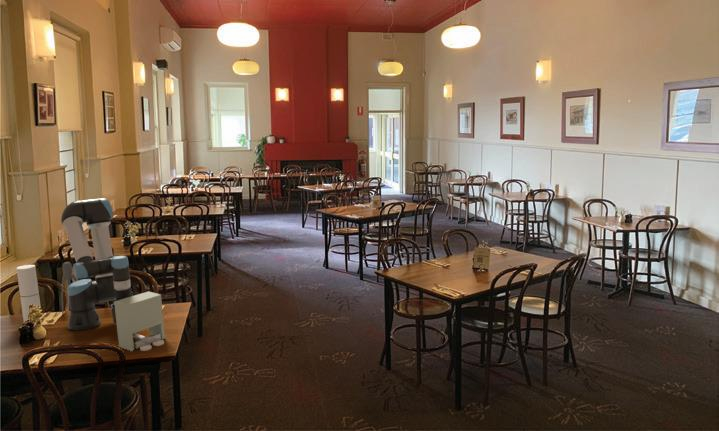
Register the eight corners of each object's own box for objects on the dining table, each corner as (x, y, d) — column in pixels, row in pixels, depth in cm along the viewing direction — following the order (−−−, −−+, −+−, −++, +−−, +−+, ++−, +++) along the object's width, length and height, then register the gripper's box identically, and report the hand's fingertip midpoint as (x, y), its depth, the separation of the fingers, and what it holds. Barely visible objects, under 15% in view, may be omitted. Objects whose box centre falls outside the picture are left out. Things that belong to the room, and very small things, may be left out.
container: (21, 321, 310) (14, 267, 305) (39, 317, 316) (32, 263, 311) (26, 325, 304) (19, 270, 299) (44, 321, 310) (37, 266, 305)
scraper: (112, 340, 280) (110, 318, 278) (136, 331, 290) (134, 310, 288) (136, 348, 268) (134, 326, 266) (160, 339, 278) (158, 317, 276)
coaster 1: (138, 349, 269) (138, 346, 269) (149, 345, 272) (148, 343, 272) (142, 352, 265) (142, 349, 265) (153, 348, 269) (153, 346, 269)
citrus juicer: (71, 319, 312) (65, 264, 306) (55, 318, 313) (48, 264, 308) (85, 312, 323) (79, 259, 317) (69, 311, 324) (62, 259, 319)
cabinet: (119, 346, 272) (114, 301, 268) (152, 334, 286) (148, 291, 282) (131, 351, 266) (126, 305, 262) (165, 338, 280) (160, 294, 277)
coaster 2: (150, 344, 274) (150, 342, 273) (159, 341, 278) (159, 338, 277) (157, 347, 271) (157, 344, 271) (166, 343, 275) (166, 340, 275)
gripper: (110, 294, 270) (115, 341, 274) (143, 284, 284) (147, 330, 288) (101, 291, 275) (106, 338, 279) (134, 282, 288) (138, 327, 292)
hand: (127, 334), depth 283 cm, fingers closed on scraper, 4 cm apart
